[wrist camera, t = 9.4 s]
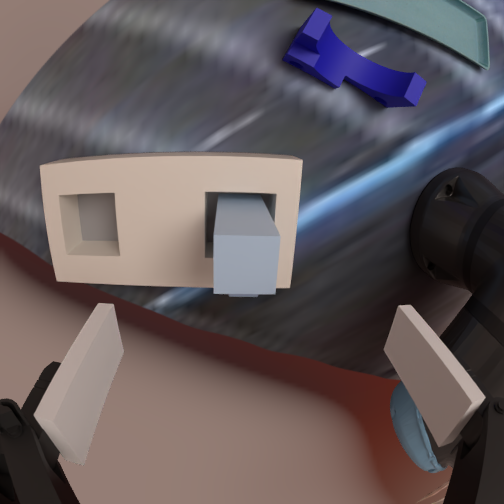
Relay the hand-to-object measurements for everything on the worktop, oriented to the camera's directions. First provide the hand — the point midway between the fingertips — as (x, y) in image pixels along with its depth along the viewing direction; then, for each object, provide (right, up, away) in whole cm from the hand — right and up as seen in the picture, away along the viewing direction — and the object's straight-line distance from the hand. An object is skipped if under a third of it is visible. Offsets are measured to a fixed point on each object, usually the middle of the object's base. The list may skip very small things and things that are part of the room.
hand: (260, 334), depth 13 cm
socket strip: (-9, +8, +17) cm, 21 cm away
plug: (-2, +7, +17) cm, 19 cm away
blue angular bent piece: (+9, +22, +13) cm, 27 cm away
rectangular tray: (+17, +33, +10) cm, 38 cm away
